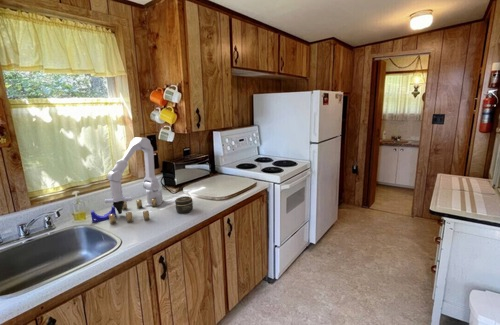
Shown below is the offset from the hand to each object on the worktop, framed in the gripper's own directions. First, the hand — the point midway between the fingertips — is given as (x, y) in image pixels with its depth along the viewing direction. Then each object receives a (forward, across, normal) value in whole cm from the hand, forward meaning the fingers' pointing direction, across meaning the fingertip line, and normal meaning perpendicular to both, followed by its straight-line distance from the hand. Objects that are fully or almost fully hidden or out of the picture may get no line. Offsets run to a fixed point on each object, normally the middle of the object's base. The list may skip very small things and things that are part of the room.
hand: (120, 213), depth 153 cm
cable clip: (+2, -8, -2) cm, 9 cm away
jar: (+2, +37, -2) cm, 37 cm away
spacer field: (+1, +8, 0) cm, 8 cm away
